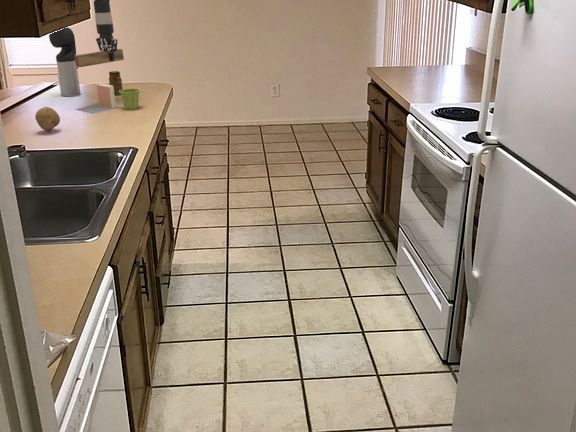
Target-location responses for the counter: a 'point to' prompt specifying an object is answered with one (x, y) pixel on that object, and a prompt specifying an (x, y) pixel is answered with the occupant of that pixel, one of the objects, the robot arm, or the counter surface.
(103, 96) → the tile
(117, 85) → the condiment
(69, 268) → the counter surface
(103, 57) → the push bar
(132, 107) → the plant pot
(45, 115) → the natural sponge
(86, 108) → the mat
